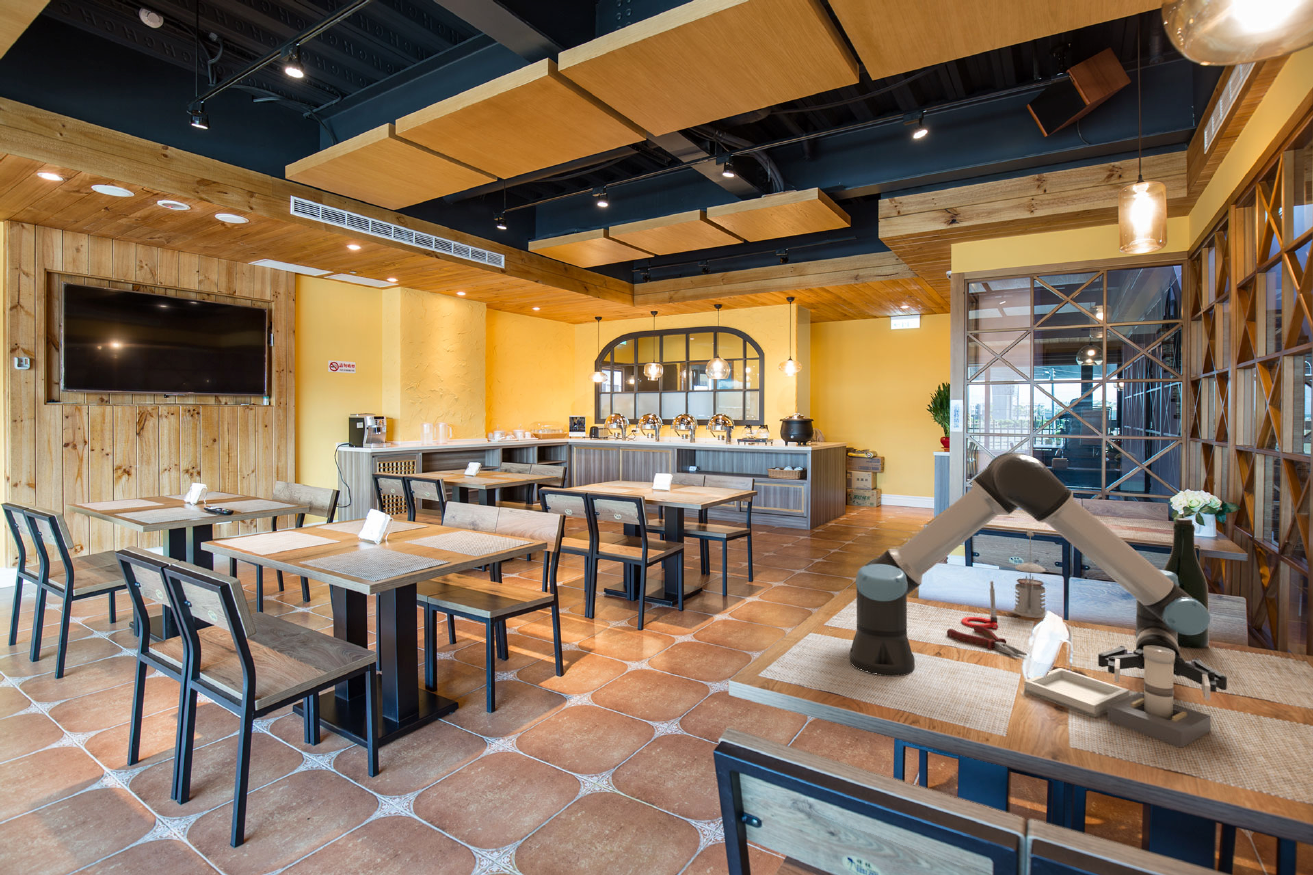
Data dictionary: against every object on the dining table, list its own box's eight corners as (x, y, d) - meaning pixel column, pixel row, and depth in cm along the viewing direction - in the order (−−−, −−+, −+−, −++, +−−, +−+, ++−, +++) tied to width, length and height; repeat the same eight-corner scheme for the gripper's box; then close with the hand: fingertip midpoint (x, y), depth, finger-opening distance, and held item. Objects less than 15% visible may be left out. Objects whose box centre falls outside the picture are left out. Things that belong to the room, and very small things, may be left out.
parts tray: (1094, 717, 126) (1094, 705, 126) (1024, 691, 139) (1024, 680, 138) (1129, 701, 133) (1129, 689, 133) (1059, 678, 145) (1059, 667, 145)
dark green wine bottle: (1191, 636, 171) (1193, 515, 170) (1219, 650, 161) (1220, 522, 160) (1148, 634, 173) (1149, 515, 172) (1172, 648, 163) (1174, 521, 162)
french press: (1048, 610, 195) (1049, 530, 195) (1048, 621, 185) (1048, 536, 185) (1012, 606, 201) (1012, 528, 200) (1010, 616, 191) (1010, 534, 190)
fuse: (1167, 734, 120) (1168, 656, 119) (1137, 723, 124) (1138, 648, 123) (1178, 727, 122) (1179, 651, 121) (1149, 717, 126) (1150, 643, 126)
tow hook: (962, 628, 182) (999, 630, 178) (960, 583, 182) (996, 585, 178) (960, 619, 190) (995, 621, 186) (958, 577, 190) (993, 578, 186)
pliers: (1004, 663, 156) (1004, 652, 156) (944, 636, 175) (944, 627, 175) (1040, 657, 159) (1040, 647, 159) (977, 632, 178) (977, 623, 178)
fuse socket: (1181, 747, 115) (1181, 728, 115) (1107, 720, 125) (1108, 702, 125) (1210, 730, 121) (1210, 712, 120) (1137, 706, 131) (1138, 689, 131)
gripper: (1234, 681, 131) (1249, 721, 114) (1088, 655, 146) (1082, 687, 129) (1234, 645, 130) (1249, 680, 113) (1088, 623, 145) (1082, 650, 129)
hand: (1160, 684), depth 121 cm, fingers open, 13 cm apart
